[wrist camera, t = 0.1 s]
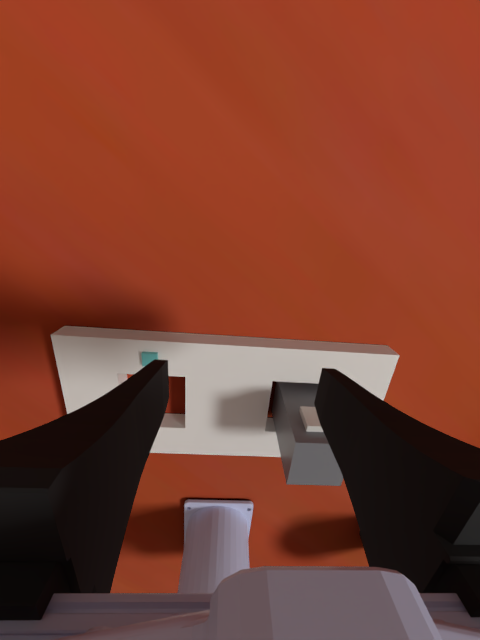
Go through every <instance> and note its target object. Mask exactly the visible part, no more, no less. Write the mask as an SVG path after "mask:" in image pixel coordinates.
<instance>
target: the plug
mask: <svg viewBox="0 0 480 640" xmlns="http://www.w3.org/2000/svg"><path fill="white" fill-rule="evenodd" d="M317 388H318V384H316V383H297V382H277V381H276V386H275V393H274V399H273V405H272V416H273V421H274V425H275V430H276V435H277V440H278V445H279V450H280V454H281V459H282V464H283V469H284V474H285V478H286V483H287V484H297V485H333V486H341V483H342V480H343V475H342V473H341V470H340V468H339V466H338V463H337V461H336V459H335V457H334V454H333V452H332V450H331V448H330V445H329V443H328V441H327V439H326V436H325V434H324V432H323V430H322V427H321V425H320V422H319V419H318V416H317V412H316V408H315V405H314V401H315V397H316V393H317Z"/></svg>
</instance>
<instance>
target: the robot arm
mask: <svg viewBox="0 0 480 640" xmlns="http://www.w3.org/2000/svg"><path fill="white" fill-rule="evenodd" d="M168 399H169V381H168V360H157V359H154V360H153V361H151V362H150V363H149V364H147V365H146V366H145V367H143V368H142V369H141V370H139V371H138V372H137V373H135V374H134V375H133V376H131V377H130V378H129V379H127V380H126V381H124V382H123V383H121V384H120V385H118V386H117V387H115V388H114V389H112V390H111V391H109V392H108V393H106V394H105V395H103V396H101V397H100V398H98V399H96V400H94V401H93V402H91V403H89V404H87V405H85V406H83V407H81V408H79V409H77V410H75V411H73V412H71V413H69V414H67V415H65V416H62V417H60V418H58V419H56V420H54V421H51V422H49V423H47V424H44V425H42V426H39V427H37V428H34V429H32V430H29V431H26V432H24V433H21V434H18V435H15V436H13V437H10V438H7V439H4V440H1V441H0V640H480V448H478V447H475V446H472V445H470V444H467V443H465V442H463V441H460V440H458V439H455V438H453V437H451V436H449V435H446V434H444V433H442V432H440V431H438V430H436V429H433V428H431V427H429V426H427V425H425V424H423V423H421V422H419V421H417V420H416V419H414V418H412V417H410V416H408V415H406V414H404V413H403V412H401V411H399V410H397V409H396V408H394V407H392V406H391V405H389V404H388V403H386V402H384V401H383V400H381V399H380V398H378V397H377V396H375V395H374V394H372V393H371V392H369V391H368V390H366V389H365V388H363V387H362V386H360V385H359V384H357V383H356V382H355V381H353V380H352V379H350V378H349V377H347V376H346V375H344V374H343V373H341V372H340V371H338V370H336V369H332V368H322V371H321V375H320V380H319V384H318V388H317V393H316V397H315V401H314V405H315V408H316V412H317V416H318V419H319V422H320V425H321V427H322V430H323V432H324V434H325V436H326V439H327V441H328V443H329V445H330V448H331V450H332V452H333V454H334V457H335V459H336V461H337V463H338V466H339V468H340V470H341V473H342V475H343V478H344V481H345V484H346V487H347V490H348V493H349V496H350V499H351V502H352V505H353V508H354V511H355V515H356V518H357V521H358V525H359V528H360V531H361V535H362V538H363V542H364V546H365V549H366V553H367V556H368V560H369V564H370V567H320V566H263V567H256V568H249V549H248V538H249V532H250V525H251V519H252V512H253V502H252V501H238V500H193V499H188V500H186V501H185V503H184V552H183V559H182V566H181V573H180V580H179V586H178V593H110V590H111V586H112V582H113V578H114V574H115V570H116V566H117V562H118V558H119V554H120V550H121V546H122V542H123V539H124V535H125V531H126V527H127V524H128V520H129V516H130V513H131V509H132V505H133V502H134V498H135V495H136V491H137V488H138V485H139V481H140V478H141V474H142V472H143V469H144V466H145V463H146V461H147V458H148V456H149V453H150V451H151V448H152V446H153V443H154V441H155V438H156V436H157V433H158V431H159V428H160V425H161V423H162V420H163V418H164V414H165V411H166V407H167V403H168Z"/></svg>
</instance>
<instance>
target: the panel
mask: <svg viewBox="0 0 480 640" xmlns="http://www.w3.org/2000/svg"><path fill="white" fill-rule="evenodd" d="M51 340H52V344H53V349H54V354H55V358H56V363H57V368H58V373H59V377H60V382H61V387H62V391H63V396H64V401H65V406H66V410H67V414H69V413H71V412H73V411H75V410H77V409H79V408H81V407H83V406H85V405H87V404H89V403H91V402H93V401H94V400H96V399H98V398H100V397H101V396H103V395H105V394H106V393H108V392H109V391H111V390H112V389H114V388H115V387H117V386H118V385H120V384H121V383H123V382H124V381H126V380H127V374H135V373H137V372H138V371H139V370H141V369H142V368H143V367H145V366H146V365H147V364H149V363H150V362H151V361H153V360H154V359H157V360H168V376H179V377H185V414H170V413H165V414H164V418H163V420H162V423H161V425H160V428H159V431H158V433H157V436H156V438H155V441H154V443H153V446H152V448H151V451H150V453H177V454H207V455H237V456H267V457H281V454H280V450H279V445H278V440H277V435H276V430H275V425H274V421H273V418H267V414H268V408H269V401H270V395H271V388H272V382H273V381H277V382H297V383H316V384H319V380H320V375H321V371H322V368H332V369H336V370H338V371H340V372H341V373H343V374H344V375H346V376H347V377H349V378H350V379H352V380H353V381H355V382H356V383H357V384H359V385H360V386H362V387H363V388H365V389H366V390H368V391H369V392H371V393H372V394H374V395H375V396H377V397H378V398H380V399H381V400H384V398H385V395H386V392H387V389H388V386H389V384H390V381H391V378H392V375H393V372H394V370H395V367H396V364H397V361H398V358H399V354H397V353H396V352H395V351H394V350H392V349H391V348H390V347H389V346H387V345H373V344H357V343H341V342H324V341H308V340H291V339H275V338H258V337H242V336H226V335H209V334H193V333H176V332H160V331H143V330H127V329H111V328H94V327H78V326H64V327H62V328H60V329H59V330H57V331H56V332H54V333H53V334H51Z"/></svg>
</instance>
